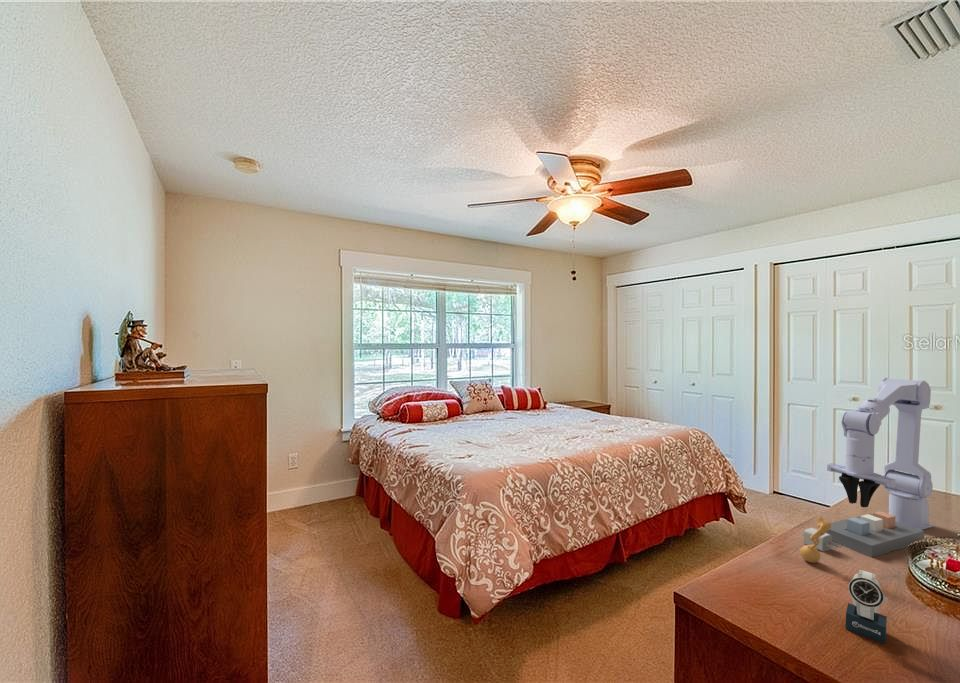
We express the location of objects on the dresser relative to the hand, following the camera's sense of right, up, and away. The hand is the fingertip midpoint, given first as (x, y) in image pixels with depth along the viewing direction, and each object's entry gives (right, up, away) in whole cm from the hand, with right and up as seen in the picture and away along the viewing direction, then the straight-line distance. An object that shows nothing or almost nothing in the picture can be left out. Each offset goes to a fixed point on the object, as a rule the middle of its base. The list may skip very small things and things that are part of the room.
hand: (858, 504), depth 114 cm
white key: (+6, -8, +2) cm, 10 cm away
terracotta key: (+11, -8, +4) cm, 14 cm away
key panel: (+6, -10, +2) cm, 12 cm away
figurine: (-21, -11, -11) cm, 26 cm away
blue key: (0, -8, 0) cm, 8 cm away
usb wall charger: (-13, -11, -3) cm, 17 cm away
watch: (-30, -11, -34) cm, 47 cm away
